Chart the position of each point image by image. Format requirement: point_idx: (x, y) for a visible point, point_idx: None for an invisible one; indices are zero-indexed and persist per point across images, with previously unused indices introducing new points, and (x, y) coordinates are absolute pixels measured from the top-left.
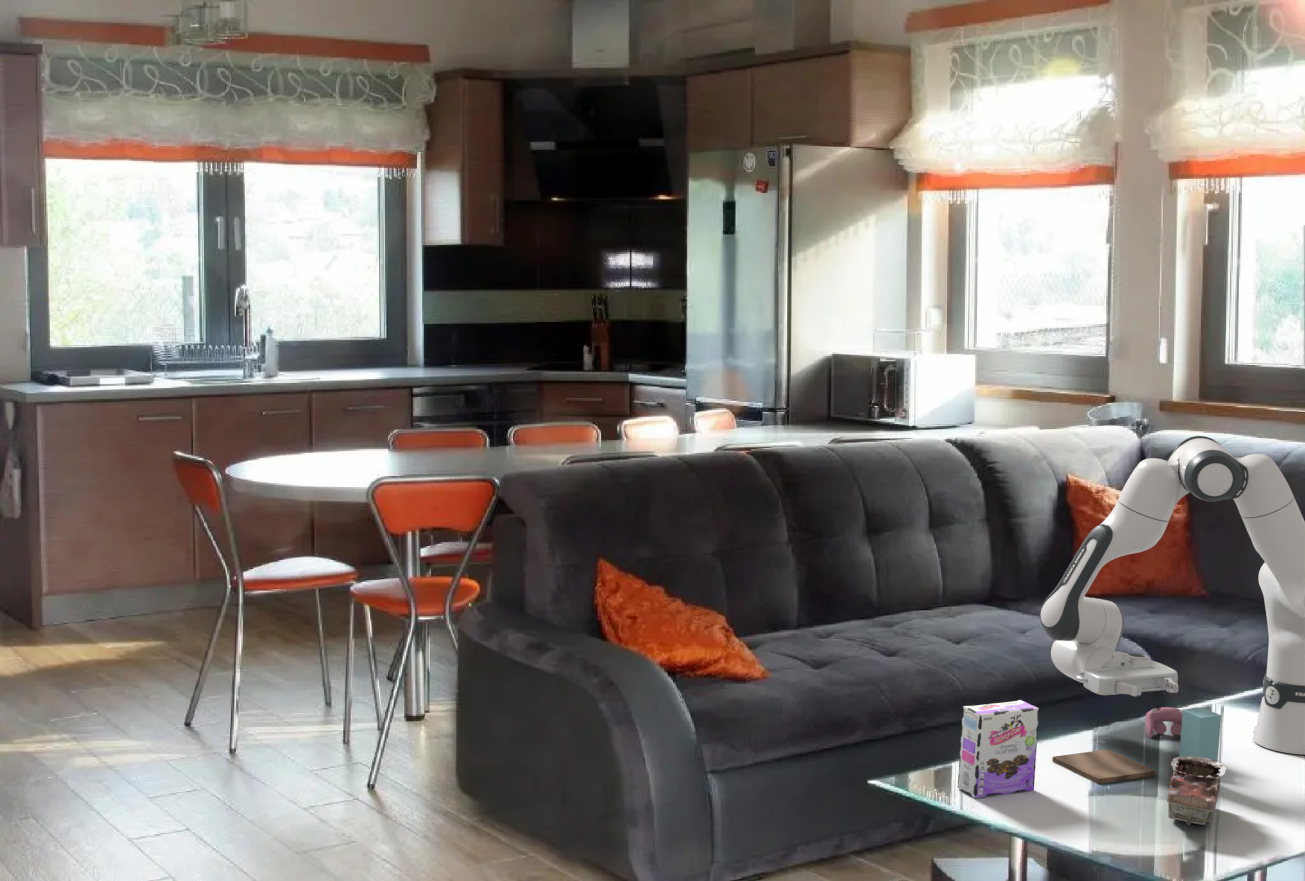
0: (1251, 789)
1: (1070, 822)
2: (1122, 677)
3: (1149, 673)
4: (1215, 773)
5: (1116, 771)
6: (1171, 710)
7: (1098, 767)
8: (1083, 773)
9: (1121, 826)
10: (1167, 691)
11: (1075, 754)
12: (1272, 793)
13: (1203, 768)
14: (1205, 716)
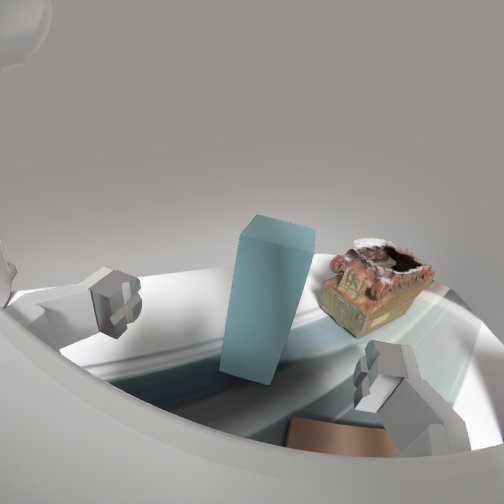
0: (204, 304)
1: (487, 357)
2: (442, 457)
3: (48, 378)
4: (335, 270)
5: (374, 449)
6: None
7: None
8: None
9: (449, 333)
10: (122, 333)
11: None
12: (198, 286)
13: (350, 274)
14: (298, 226)
